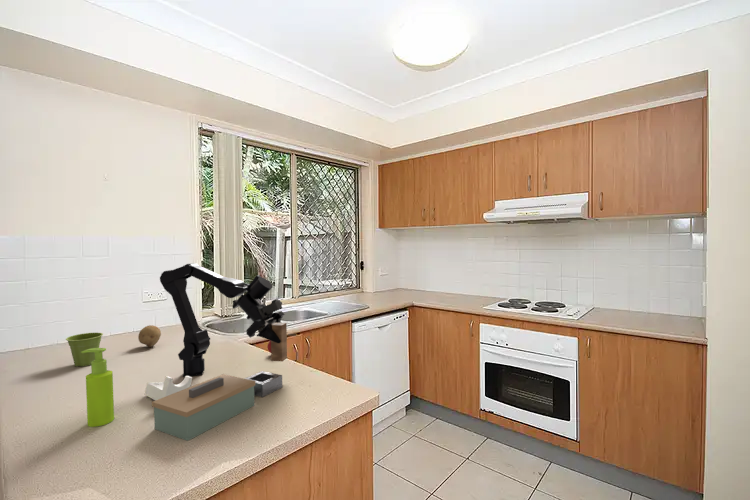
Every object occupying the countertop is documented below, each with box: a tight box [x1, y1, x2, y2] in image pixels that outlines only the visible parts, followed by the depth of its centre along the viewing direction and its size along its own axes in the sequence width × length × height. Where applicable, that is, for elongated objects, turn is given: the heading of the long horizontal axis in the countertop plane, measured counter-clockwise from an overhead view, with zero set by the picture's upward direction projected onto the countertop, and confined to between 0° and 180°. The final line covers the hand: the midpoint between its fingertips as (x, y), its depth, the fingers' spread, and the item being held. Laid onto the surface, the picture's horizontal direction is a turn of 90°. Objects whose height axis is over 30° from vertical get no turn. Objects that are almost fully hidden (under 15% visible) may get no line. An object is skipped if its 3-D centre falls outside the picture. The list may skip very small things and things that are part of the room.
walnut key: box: [270, 322, 288, 363], centre depth 134 cm, size 4×4×12 cm
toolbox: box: [151, 373, 255, 442], centre depth 109 cm, size 14×28×9 cm, turn 152°
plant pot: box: [65, 332, 104, 367], centre depth 153 cm, size 12×12×11 cm
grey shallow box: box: [244, 370, 283, 398], centre depth 125 cm, size 9×9×4 cm
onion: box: [266, 340, 271, 354], centre depth 162 cm, size 6×6×8 cm
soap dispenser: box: [81, 347, 115, 428], centre depth 104 cm, size 6×7×20 cm
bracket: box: [144, 375, 193, 401], centre depth 120 cm, size 13×7×8 cm, turn 53°
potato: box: [137, 324, 162, 348], centre depth 177 cm, size 9×9×10 cm
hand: (282, 340), depth 134 cm, fingers closed on walnut key, 4 cm apart
